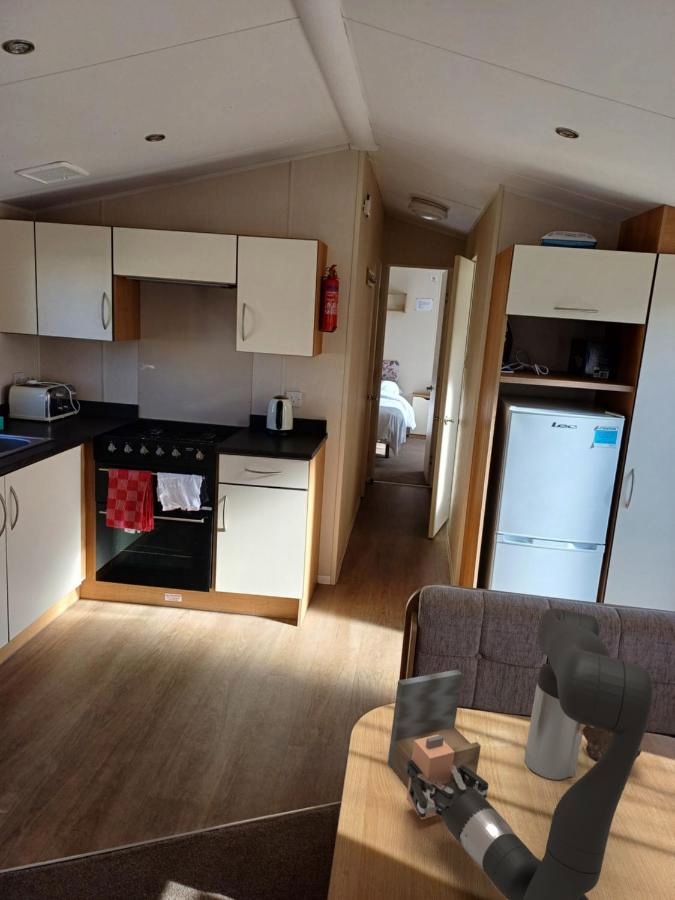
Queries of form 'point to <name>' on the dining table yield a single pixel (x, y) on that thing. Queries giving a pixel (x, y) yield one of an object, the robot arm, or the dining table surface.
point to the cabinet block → (432, 762)
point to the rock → (598, 741)
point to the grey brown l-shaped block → (428, 720)
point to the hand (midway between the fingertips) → (422, 761)
